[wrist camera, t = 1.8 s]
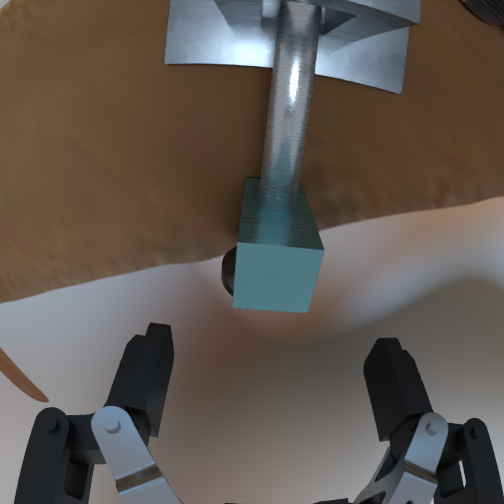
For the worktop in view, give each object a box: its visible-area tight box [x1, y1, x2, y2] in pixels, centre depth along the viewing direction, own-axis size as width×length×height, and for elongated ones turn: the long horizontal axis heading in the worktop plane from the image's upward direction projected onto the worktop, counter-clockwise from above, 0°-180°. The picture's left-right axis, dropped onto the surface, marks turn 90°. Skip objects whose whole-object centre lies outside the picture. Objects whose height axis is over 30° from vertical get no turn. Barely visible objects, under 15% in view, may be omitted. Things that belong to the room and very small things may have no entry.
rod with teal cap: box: [221, 0, 324, 313], centre depth 15 cm, size 6×21×9 cm, turn 175°
